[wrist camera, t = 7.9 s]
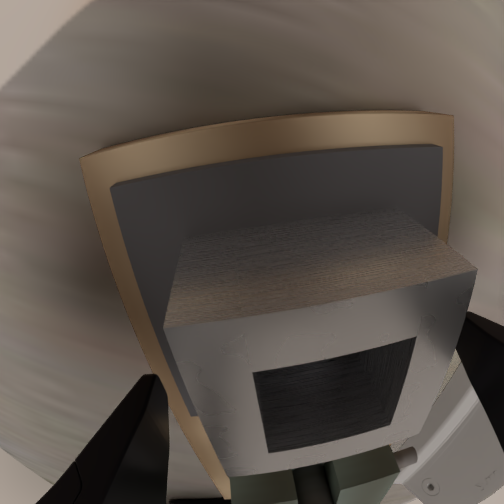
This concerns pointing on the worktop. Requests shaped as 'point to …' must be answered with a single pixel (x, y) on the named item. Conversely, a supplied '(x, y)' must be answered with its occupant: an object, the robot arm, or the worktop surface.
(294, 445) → the collar
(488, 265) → the worktop surface
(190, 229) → the mat
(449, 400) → the grey arched bracket
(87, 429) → the worktop surface
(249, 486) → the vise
